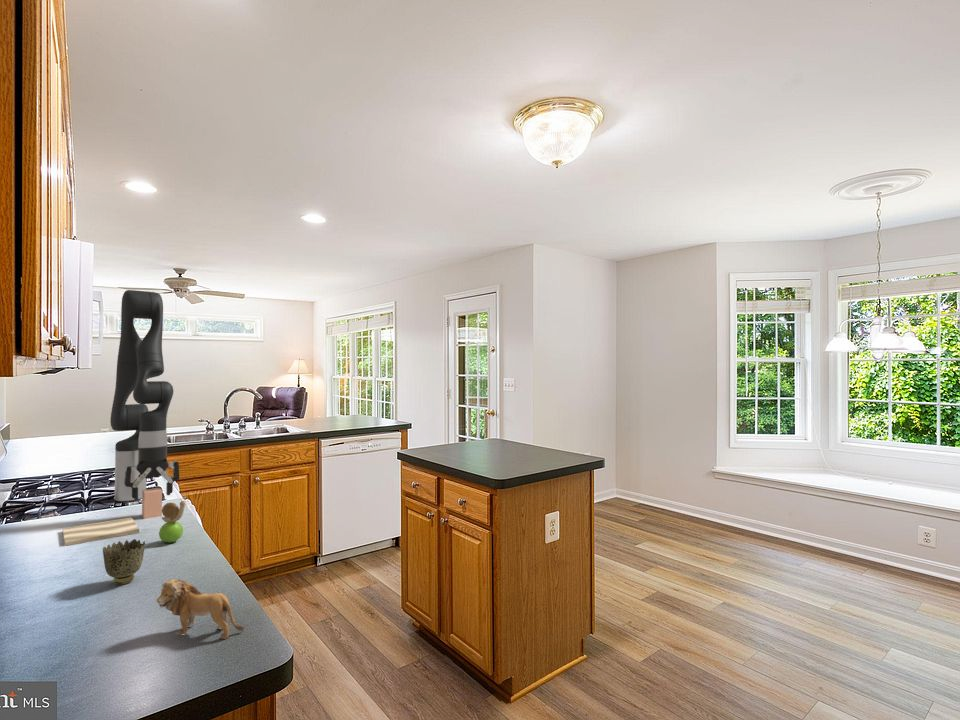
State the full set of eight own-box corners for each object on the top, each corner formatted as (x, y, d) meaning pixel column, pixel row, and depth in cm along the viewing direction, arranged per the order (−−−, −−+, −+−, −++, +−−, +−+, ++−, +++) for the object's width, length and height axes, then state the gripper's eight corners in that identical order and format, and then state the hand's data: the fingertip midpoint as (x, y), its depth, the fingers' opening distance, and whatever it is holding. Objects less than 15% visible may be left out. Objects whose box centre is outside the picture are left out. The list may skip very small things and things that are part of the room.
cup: (151, 579, 108) (152, 542, 109) (112, 592, 102) (113, 553, 102) (134, 572, 112) (134, 536, 112) (95, 584, 106) (96, 546, 106)
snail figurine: (178, 545, 129) (179, 499, 130) (154, 545, 129) (154, 499, 130) (191, 538, 135) (191, 494, 135) (167, 538, 135) (168, 493, 135)
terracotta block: (141, 515, 156) (142, 489, 156) (159, 512, 159) (159, 487, 159) (144, 518, 153) (144, 492, 153) (161, 516, 156) (162, 490, 156)
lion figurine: (150, 640, 84) (151, 586, 84) (169, 624, 90) (170, 573, 90) (237, 640, 84) (238, 586, 84) (251, 624, 90) (252, 573, 90)
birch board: (62, 531, 140) (62, 528, 140) (131, 520, 151) (131, 517, 151) (64, 545, 129) (64, 542, 129) (139, 532, 140) (139, 529, 140)
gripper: (176, 441, 164) (176, 491, 163) (123, 446, 155) (122, 499, 154) (181, 443, 158) (181, 495, 158) (126, 448, 149) (126, 503, 148)
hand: (152, 497), depth 156 cm, fingers open, 8 cm apart
